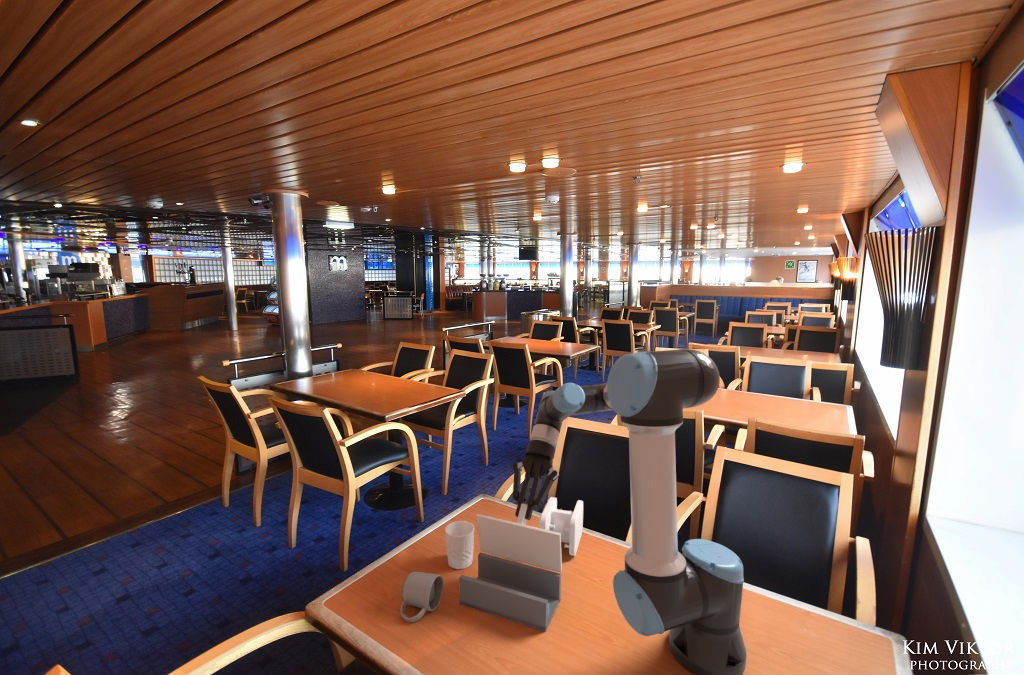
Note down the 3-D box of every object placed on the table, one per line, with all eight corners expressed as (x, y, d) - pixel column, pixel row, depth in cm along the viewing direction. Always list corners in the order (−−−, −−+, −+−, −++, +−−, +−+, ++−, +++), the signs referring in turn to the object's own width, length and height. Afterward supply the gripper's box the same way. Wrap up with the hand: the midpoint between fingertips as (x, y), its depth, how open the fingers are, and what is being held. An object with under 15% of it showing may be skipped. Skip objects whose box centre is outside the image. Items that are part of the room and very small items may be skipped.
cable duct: (560, 600, 116) (561, 574, 115) (545, 631, 106) (546, 603, 105) (480, 576, 124) (480, 552, 123) (459, 604, 114) (459, 577, 113)
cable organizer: (574, 563, 130) (575, 523, 128) (537, 556, 133) (537, 517, 132) (583, 534, 144) (584, 498, 143) (549, 528, 147) (549, 493, 146)
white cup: (470, 572, 126) (469, 537, 125) (442, 569, 127) (441, 534, 126) (477, 555, 134) (477, 522, 132) (450, 552, 135) (450, 519, 134)
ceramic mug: (415, 589, 119) (414, 562, 118) (444, 597, 117) (443, 568, 115) (392, 620, 110) (390, 590, 108) (423, 628, 107) (422, 598, 106)
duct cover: (561, 572, 115) (562, 570, 115) (559, 535, 111) (560, 533, 112) (480, 551, 123) (481, 549, 124) (476, 515, 120) (477, 513, 121)
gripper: (568, 453, 131) (546, 541, 119) (524, 446, 136) (499, 529, 124) (562, 442, 125) (539, 533, 113) (516, 435, 130) (490, 521, 118)
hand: (518, 531), depth 118 cm, fingers closed
